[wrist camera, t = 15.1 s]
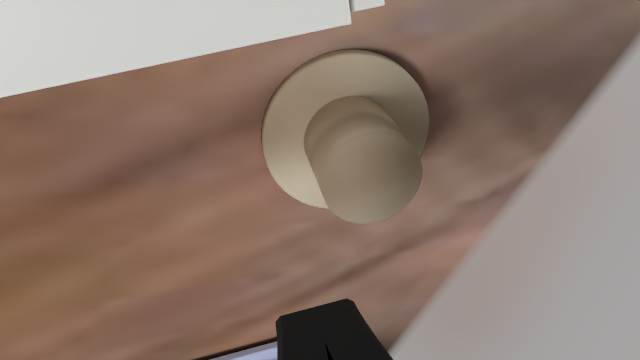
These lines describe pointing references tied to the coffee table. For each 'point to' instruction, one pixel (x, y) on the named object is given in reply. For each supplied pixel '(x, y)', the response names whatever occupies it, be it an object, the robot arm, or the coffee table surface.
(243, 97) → the coffee table surface
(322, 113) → the disc pedestal
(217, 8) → the box
